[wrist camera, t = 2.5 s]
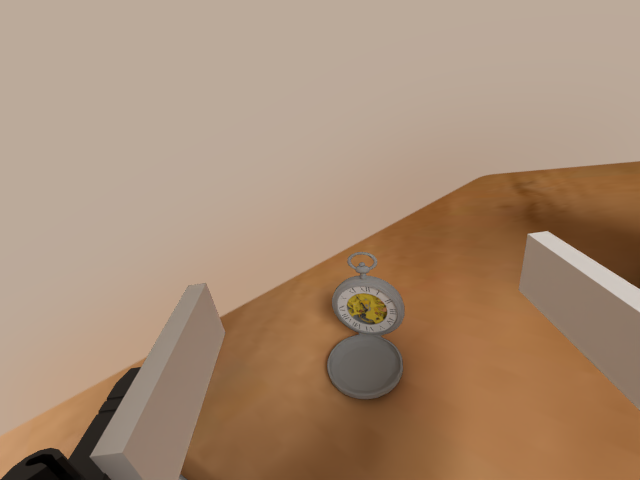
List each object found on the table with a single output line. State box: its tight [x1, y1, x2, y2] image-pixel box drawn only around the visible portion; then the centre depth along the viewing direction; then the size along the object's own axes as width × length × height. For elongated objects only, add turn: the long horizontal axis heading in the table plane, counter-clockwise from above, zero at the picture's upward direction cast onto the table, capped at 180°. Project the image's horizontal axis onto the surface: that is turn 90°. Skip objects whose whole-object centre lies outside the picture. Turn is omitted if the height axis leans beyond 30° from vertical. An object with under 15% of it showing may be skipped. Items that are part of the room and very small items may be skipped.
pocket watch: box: [327, 252, 404, 399], centre depth 27 cm, size 8×8×10 cm
